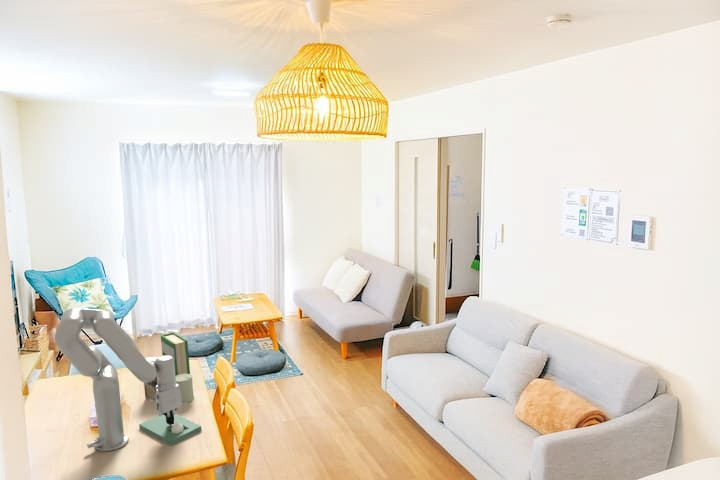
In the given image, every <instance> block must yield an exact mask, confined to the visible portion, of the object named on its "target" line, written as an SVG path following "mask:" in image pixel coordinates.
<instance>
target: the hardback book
mask: <svg viewBox="0 0 720 480" xmlns="http://www.w3.org/2000/svg"><path fill="white" fill-rule="evenodd" d="M160 343H161V351H162V352H161V353H162V355H161V356H166V355H169V356H172V357H173V358H174V365H175V376H176V375H179V374H191V370H190V368H191V367H190V357H189V345H188V343H189V342H188V340H187V339H186V338H184V337H183V336H181V335H180V334H178V333H176V332H175V331H173V332H170V333H164V334H160Z"/></svg>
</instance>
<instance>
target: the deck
mask: <svg viewBox="0 0 720 480" xmlns="http://www.w3.org/2000/svg"><path fill="white" fill-rule="evenodd" d="M177 423H180V424H182V425H183V427H184V430H183V431H182V432H180V433H178V434H176V435H175V434H173V433H172V431H171V430H172V427H173V425H175V424H177ZM138 426H139V429H140V430H142V431H143V432H146V433H147V434H148V435H149V434H150V435H151V436H153V437H154V438H157V439H159V440H160V441H162V442H164V443H166V444H168V445H170V446H173V445H176V444H177V443H179V442H181V441H183V440H186V439H187V438H189V437H190V436H193V435H195V434H197V433H199V432H200V431H202V425H200V424H198V423H196V422H194V421H191V420H190V419H187V418H185V417H183V416H181V415H179V414H177V413H175V415H174V424H172V425H169V424H167V423H166V416H165V415H162V416H159V415H157V416H154V417H152V418H150V419H149V420H148V419H147V420H146V421H143V422H142V423H139V425H138Z"/></svg>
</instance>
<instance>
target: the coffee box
mask: <svg viewBox="0 0 720 480" xmlns="http://www.w3.org/2000/svg"><path fill="white" fill-rule="evenodd" d="M155 386H157V376H156V378H155V379H154V380H153V381H152V382H149V383H144V382H143V388H144V398H145V400H149V401H154V402H156V392H157V389H156V388H155Z"/></svg>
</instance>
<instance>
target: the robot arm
mask: <svg viewBox="0 0 720 480" xmlns="http://www.w3.org/2000/svg"><path fill="white" fill-rule="evenodd" d="M83 329H86V330H87V329H88V330H92V331H93V333H94V334H95V335H96V336H97V337H99V339H100V340H101V341H102V342H104V343H105V344H106V346H107V347H108V348H109V349H110V350H111V351H112V352H114V354H115V356H117V358H118V359H119V360H120V361H121V362H122V363H123V365H124V366H125V367H126V368H127V369H128V370H129V372H130V373H131V374H133V376H135V378H136V379H138V380H139V381H140V382H142V383H143V384H144V383H149V382H152V381H153V380H154V379H155V378H156V376H157V386H155V388H156V389H157V392H156V401H155V407H156V408H155V409H156V411H157V416H162V415H165V416H166V423H167V424H169V425H172V424H174V415H175V414H176V411H177V409H180V407H181V406H182V399H181V393H180V389H179V386H178V384H176V377H175V365H174V358H173V357H172V356H169V355H166V356H162V355H161V356H159V357H145V356H144V355H143V354H142V353H141V351H140V349H139V348H138V345H137V344H136V342H135V340H134V339H133V338H132V336H131V335H129V334H128V333H127V331H125V330H124V329H123V328H122V327H121V326H120V324H119V323H118V322H117V321H116V320H115V316H114V315H113V313H112V312H111V311H109V310H108V311H107V310H103V309H94V308H93V309H92V308H91V309H90V308H83V307H82V308H81V307H80V308H78V307H72V308H68V309H67V310H65V311H64V312H63V313H62V315H61V317H60V320H59V324H58V326H57V328H56V331H55V333H54V342H55V344H56V347H57V349H58V350H59V351H60V352H61V353H62V354H63V356H65V358H66V359H67V360H68V362H70V364H71V365H72V366H73V367H74V368H75V369H76V371H77V372H78V373H79V374H80V375H81V376H85V377H87V378H88V377H90V378H91V379H92V392H93V399H94V407H95V414H96V423H97V432H98V434H97V435H96V439H94V440H93V441H91V442H88V443H87V444H86V446H87V449H91V448H94V449H96V450H98V451H99V452H112V451H115V450H118V449H119V450H120V448H122V447H124V446H125V445H127V444H128V442H129V440H130V439H129V438H130V437H129V435H127V434H126V433H125V430H124V421H123V411H122V403H121V395H120V393H121V392H120V381H119V374H118V370H117V368H116V367H115V366H114V365H113V364H112V362H111V361H110V360H109V359H108V358H107V357H106V356H105V355H104V353H103V352H102V351H101V350H100V349H98V348H97V347H95V346H90V345H89V346H88V344H87V342H86V341H84V340H83V339H82V338H81V337H80V333H81V331H82V330H83Z"/></svg>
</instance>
